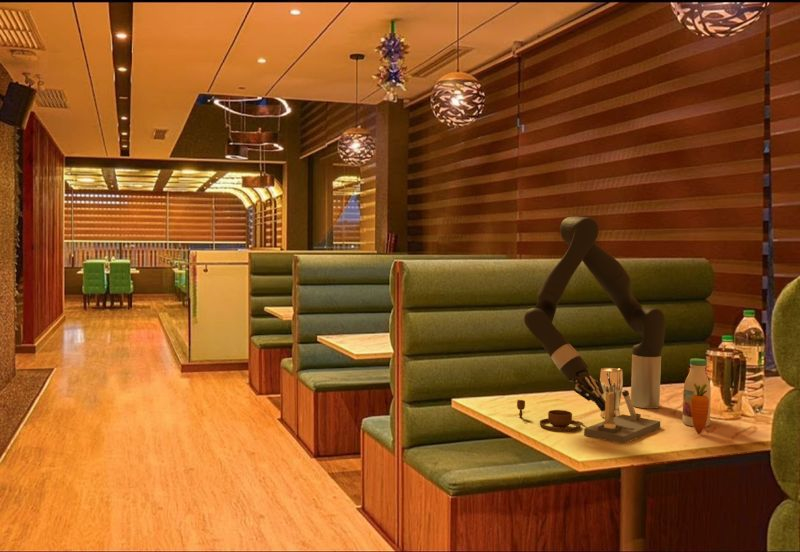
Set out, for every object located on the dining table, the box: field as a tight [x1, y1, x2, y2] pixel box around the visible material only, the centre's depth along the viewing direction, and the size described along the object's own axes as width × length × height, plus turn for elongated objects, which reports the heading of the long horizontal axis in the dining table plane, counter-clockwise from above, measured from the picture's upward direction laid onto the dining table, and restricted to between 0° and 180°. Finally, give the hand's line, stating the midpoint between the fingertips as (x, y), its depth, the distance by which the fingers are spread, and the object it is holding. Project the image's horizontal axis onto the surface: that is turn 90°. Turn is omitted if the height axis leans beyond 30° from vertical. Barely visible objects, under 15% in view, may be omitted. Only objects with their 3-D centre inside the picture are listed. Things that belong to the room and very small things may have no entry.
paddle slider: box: [602, 392, 615, 424], centre depth 214 cm, size 3×2×9 cm
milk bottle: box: [682, 357, 712, 428], centre depth 224 cm, size 8×8×20 cm
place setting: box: [516, 399, 588, 433], centre depth 223 cm, size 18×20×6 cm
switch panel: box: [583, 412, 661, 445], centre depth 215 cm, size 24×12×4 cm, turn 137°
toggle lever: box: [621, 389, 637, 416], centre depth 222 cm, size 2×2×9 cm
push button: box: [604, 423, 616, 429], centre depth 209 cm, size 3×3×1 cm
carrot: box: [691, 383, 709, 435], centre depth 213 cm, size 5×5×15 cm
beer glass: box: [599, 367, 624, 419], centre depth 232 cm, size 7×7×15 cm
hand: (605, 409), depth 215 cm, fingers closed
